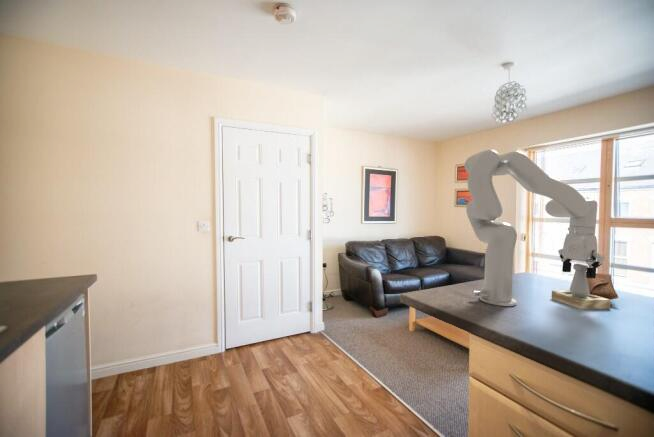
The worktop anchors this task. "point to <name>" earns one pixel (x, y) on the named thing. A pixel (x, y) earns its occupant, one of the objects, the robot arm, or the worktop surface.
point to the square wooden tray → (581, 300)
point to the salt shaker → (580, 282)
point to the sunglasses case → (602, 286)
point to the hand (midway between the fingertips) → (578, 274)
